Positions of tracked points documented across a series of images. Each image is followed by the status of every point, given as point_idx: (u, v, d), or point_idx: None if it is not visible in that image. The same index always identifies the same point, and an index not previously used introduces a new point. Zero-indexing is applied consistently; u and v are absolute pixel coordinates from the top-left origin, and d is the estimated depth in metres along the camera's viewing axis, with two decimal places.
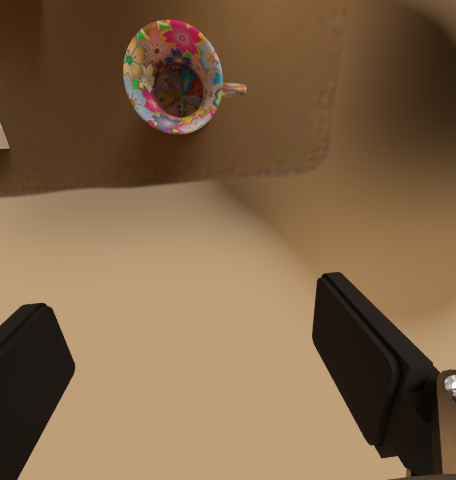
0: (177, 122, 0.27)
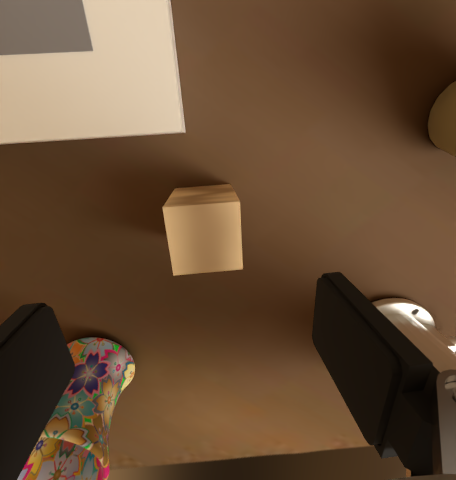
0: None
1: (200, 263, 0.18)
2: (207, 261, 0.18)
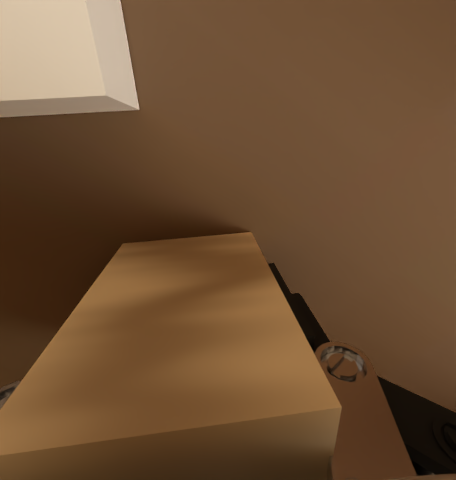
0: None
1: None
2: None
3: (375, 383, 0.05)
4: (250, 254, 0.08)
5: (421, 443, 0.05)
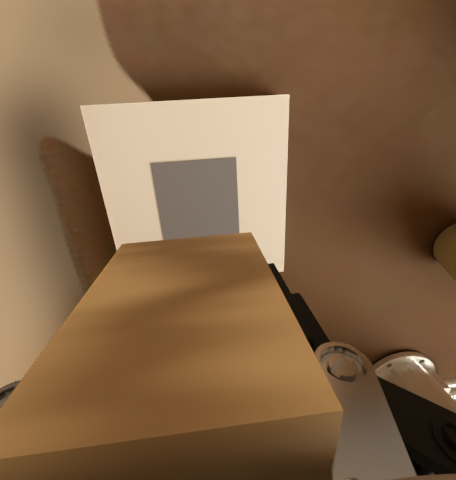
0: None
1: None
2: None
3: (375, 383, 0.05)
4: (250, 254, 0.08)
5: (421, 443, 0.05)
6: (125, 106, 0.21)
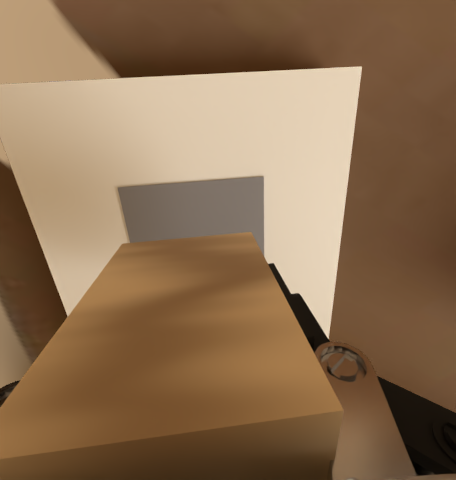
0: None
1: None
2: None
3: (375, 383, 0.05)
4: (250, 254, 0.08)
5: (421, 443, 0.05)
6: (66, 87, 0.12)
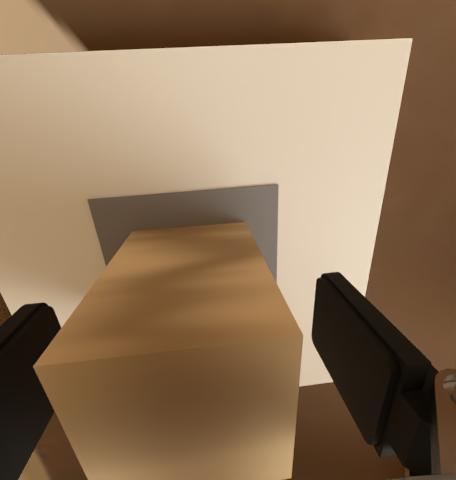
0: None
1: (176, 479, 0.06)
2: (196, 473, 0.06)
3: None
4: (243, 239, 0.09)
5: None
6: (10, 63, 0.08)
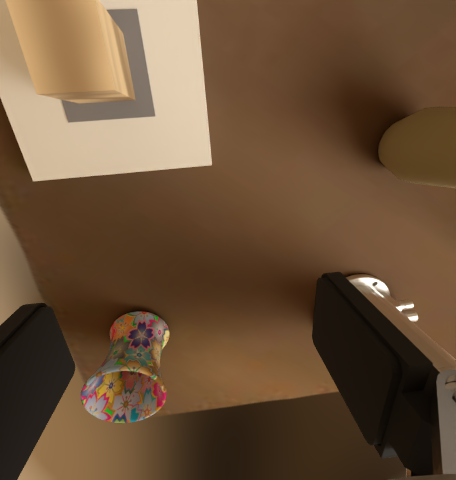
0: (98, 384, 0.30)
1: (64, 79, 0.16)
2: (72, 76, 0.16)
3: None
4: None
5: None
6: None
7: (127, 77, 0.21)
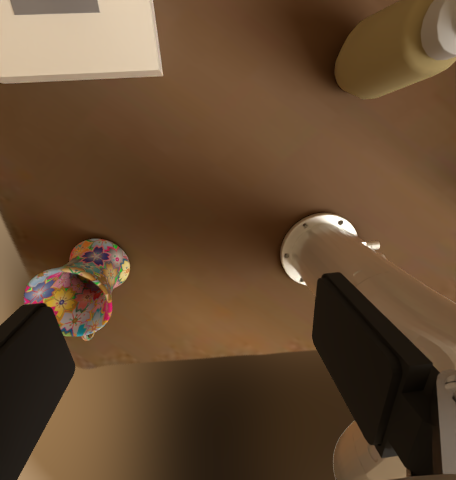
0: (46, 295, 0.30)
1: None
2: None
3: None
4: None
5: None
6: None
7: None
